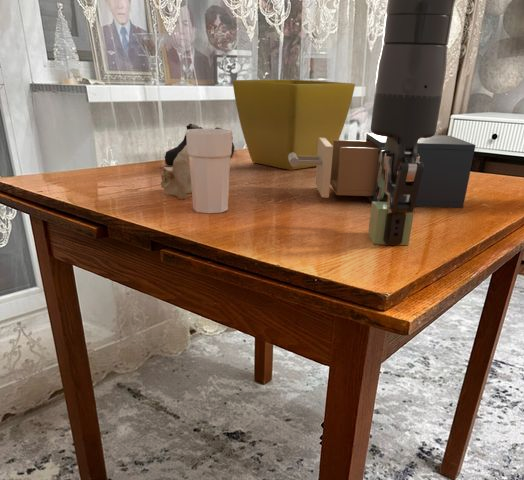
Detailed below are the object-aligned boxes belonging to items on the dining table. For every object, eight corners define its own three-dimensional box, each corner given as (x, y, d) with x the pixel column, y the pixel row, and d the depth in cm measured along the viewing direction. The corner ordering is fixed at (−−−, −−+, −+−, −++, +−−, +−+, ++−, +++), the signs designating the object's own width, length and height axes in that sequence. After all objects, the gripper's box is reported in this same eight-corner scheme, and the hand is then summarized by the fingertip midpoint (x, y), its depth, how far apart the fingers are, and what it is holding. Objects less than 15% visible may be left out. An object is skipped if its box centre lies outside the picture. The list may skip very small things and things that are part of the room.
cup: (234, 205, 84) (234, 129, 79) (230, 215, 79) (230, 134, 73) (192, 203, 85) (189, 127, 79) (185, 213, 79) (181, 132, 74)
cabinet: (373, 205, 87) (380, 142, 83) (360, 189, 98) (366, 133, 94) (463, 208, 87) (475, 144, 83) (440, 191, 98) (450, 135, 94)
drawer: (288, 196, 87) (291, 145, 83) (286, 183, 97) (288, 136, 93) (404, 199, 87) (412, 148, 84) (390, 186, 97) (396, 139, 94)
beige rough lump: (167, 177, 95) (191, 127, 89) (197, 199, 95) (223, 150, 89) (143, 189, 88) (167, 136, 82) (175, 213, 88) (202, 161, 82)
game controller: (231, 186, 110) (248, 139, 109) (207, 173, 105) (225, 123, 104) (183, 174, 121) (199, 131, 119) (160, 162, 115) (176, 116, 114)
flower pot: (289, 174, 110) (294, 82, 102) (230, 161, 122) (230, 78, 114) (349, 166, 121) (357, 83, 113) (289, 155, 134) (293, 79, 126)
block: (400, 235, 71) (405, 202, 69) (408, 245, 68) (414, 210, 66) (367, 234, 71) (371, 201, 69) (373, 244, 68) (378, 209, 66)
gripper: (461, 94, 55) (432, 256, 63) (424, 89, 68) (404, 224, 76) (388, 92, 55) (368, 254, 63) (364, 87, 68) (350, 223, 76)
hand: (388, 237), depth 69 cm, fingers closed on block, 4 cm apart
